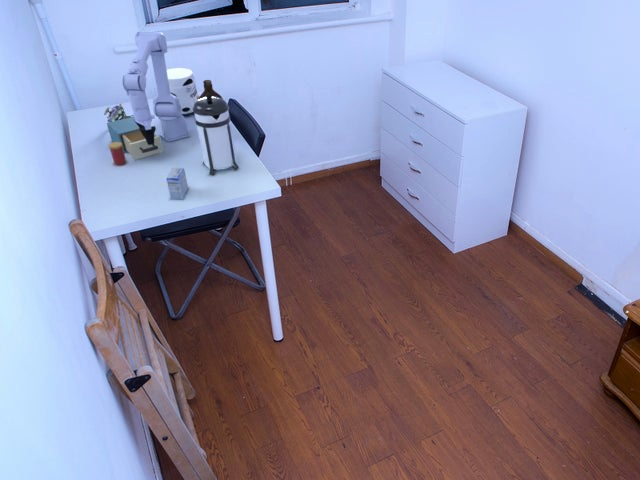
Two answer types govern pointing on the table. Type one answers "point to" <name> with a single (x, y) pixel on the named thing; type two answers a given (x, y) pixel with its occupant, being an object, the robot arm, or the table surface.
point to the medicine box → (177, 183)
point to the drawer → (140, 145)
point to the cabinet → (122, 129)
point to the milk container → (183, 88)
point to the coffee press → (215, 133)
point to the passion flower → (116, 113)
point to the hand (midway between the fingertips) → (148, 140)
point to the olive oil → (209, 90)
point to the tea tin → (117, 153)
